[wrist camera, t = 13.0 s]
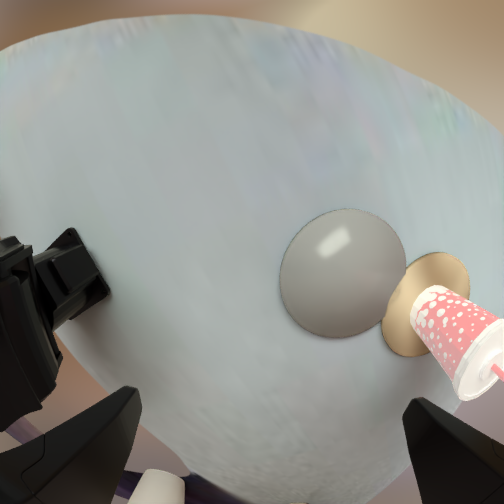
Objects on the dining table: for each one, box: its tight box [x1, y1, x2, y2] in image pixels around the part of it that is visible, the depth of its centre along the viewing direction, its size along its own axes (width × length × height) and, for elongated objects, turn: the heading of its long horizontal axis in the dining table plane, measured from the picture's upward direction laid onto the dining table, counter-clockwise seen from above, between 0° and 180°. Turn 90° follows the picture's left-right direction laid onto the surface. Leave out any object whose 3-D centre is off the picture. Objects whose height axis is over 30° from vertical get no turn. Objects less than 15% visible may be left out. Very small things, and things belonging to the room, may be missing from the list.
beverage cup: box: [410, 285, 504, 401], centre depth 13 cm, size 6×6×14 cm
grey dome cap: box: [280, 209, 406, 338], centre depth 19 cm, size 10×10×1 cm
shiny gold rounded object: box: [381, 252, 470, 357], centre depth 20 cm, size 10×10×1 cm
